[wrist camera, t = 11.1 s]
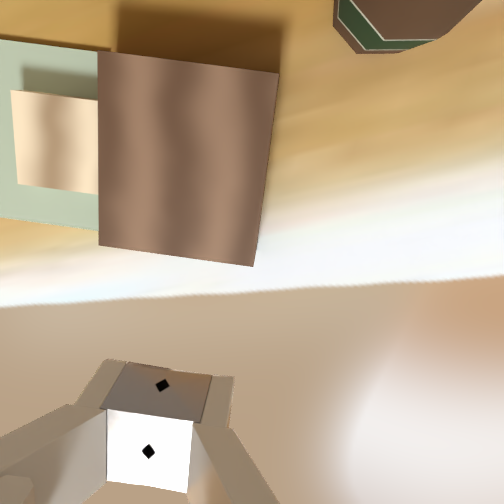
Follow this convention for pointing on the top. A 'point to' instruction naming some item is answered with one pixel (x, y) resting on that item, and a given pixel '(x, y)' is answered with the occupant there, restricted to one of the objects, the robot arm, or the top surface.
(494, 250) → the top surface
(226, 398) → the robot arm
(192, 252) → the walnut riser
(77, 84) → the rubber mat
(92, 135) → the birch tile
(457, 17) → the beer bottle
